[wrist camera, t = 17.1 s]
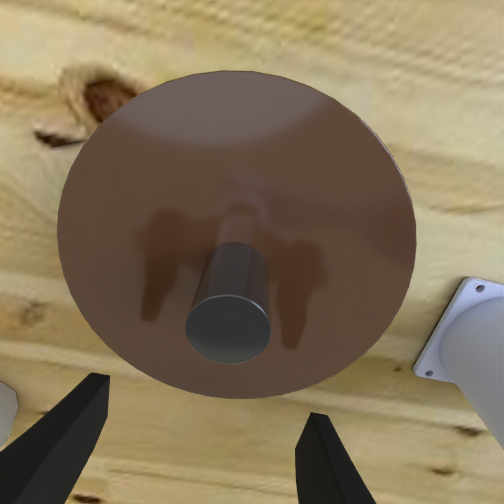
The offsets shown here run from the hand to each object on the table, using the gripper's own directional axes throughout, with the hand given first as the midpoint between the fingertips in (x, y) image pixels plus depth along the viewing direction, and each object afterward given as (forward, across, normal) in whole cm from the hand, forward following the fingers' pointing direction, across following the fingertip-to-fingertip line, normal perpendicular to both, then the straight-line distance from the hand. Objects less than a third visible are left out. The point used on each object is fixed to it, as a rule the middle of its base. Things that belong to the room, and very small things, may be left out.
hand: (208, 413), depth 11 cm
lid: (+3, 0, -4) cm, 5 cm away
